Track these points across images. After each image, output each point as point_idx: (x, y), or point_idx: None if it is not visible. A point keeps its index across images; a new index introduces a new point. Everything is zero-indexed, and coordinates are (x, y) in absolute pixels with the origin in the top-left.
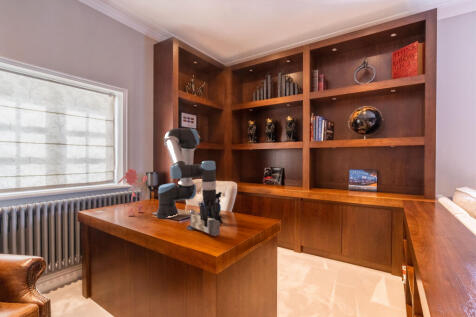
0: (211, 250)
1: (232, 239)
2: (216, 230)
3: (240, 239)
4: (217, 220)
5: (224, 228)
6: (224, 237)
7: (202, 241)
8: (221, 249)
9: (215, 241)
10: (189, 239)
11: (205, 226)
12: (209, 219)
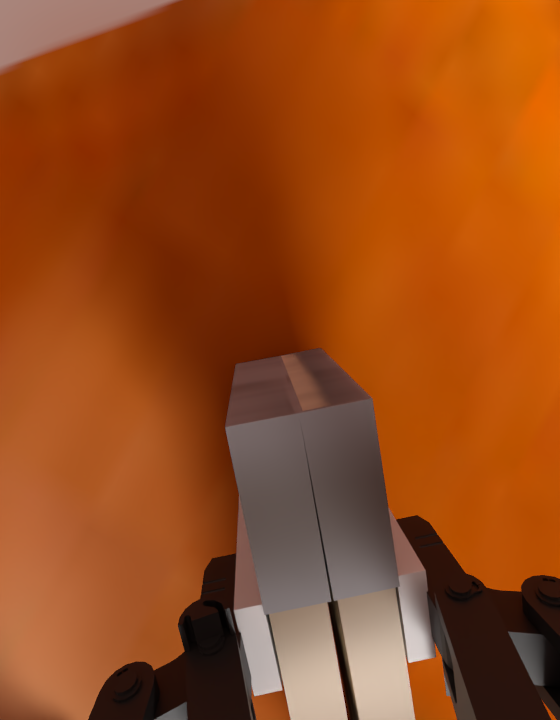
0: (506, 63)
1: (126, 212)
2: (296, 368)
3: (31, 144)
4: (240, 493)
5: (32, 606)
6: (180, 335)
7: (451, 372)
8: (402, 8)
9: (334, 283)
10: (528, 502)
11: (424, 525)
12: (336, 656)
